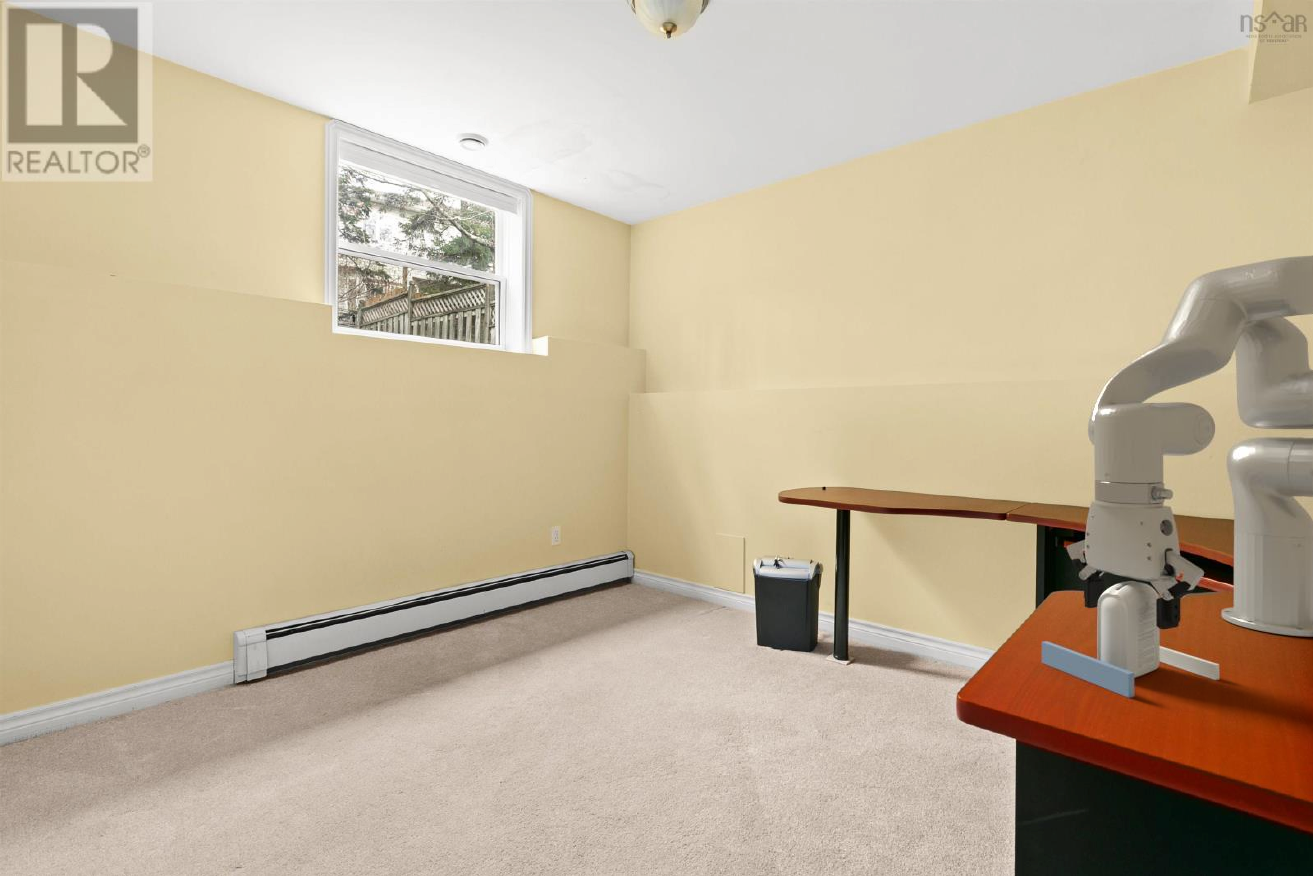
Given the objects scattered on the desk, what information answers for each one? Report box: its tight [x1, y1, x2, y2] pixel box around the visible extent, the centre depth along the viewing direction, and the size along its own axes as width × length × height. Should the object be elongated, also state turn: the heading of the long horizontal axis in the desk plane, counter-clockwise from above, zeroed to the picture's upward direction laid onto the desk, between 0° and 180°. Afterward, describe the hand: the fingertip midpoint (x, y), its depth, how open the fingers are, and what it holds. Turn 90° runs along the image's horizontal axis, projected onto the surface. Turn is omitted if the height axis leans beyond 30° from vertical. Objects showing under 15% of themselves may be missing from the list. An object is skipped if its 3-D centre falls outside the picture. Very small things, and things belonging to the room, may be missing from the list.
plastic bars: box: [1041, 640, 1220, 699], centre depth 84 cm, size 17×12×3 cm
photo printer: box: [1096, 580, 1161, 679], centre depth 84 cm, size 10×4×12 cm, turn 119°
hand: (1129, 616), depth 84 cm, fingers open, 9 cm apart
